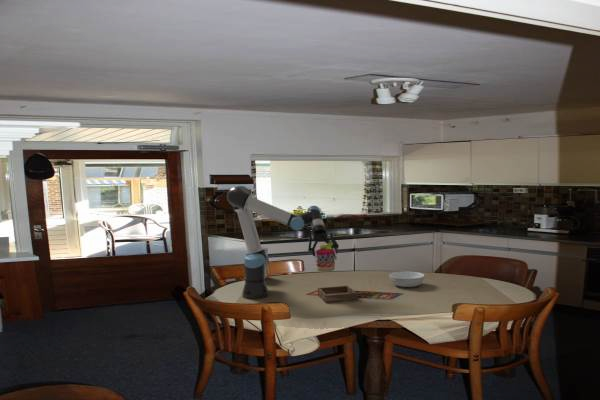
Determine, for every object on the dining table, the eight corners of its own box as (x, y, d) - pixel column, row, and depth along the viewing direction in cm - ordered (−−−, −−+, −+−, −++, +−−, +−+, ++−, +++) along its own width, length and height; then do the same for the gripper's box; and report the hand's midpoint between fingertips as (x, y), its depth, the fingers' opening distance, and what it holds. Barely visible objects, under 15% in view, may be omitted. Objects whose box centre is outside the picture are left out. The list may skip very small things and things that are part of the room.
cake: (325, 272, 253) (324, 245, 252) (312, 269, 261) (311, 243, 260) (339, 269, 260) (338, 242, 259) (326, 266, 268) (325, 241, 267)
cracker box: (261, 277, 319) (260, 246, 318) (269, 277, 317) (268, 247, 316) (252, 281, 306) (251, 250, 305) (260, 282, 304) (259, 250, 303)
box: (317, 294, 268) (317, 288, 268) (347, 292, 272) (347, 285, 271) (325, 303, 250) (325, 295, 250) (357, 300, 254) (357, 293, 254)
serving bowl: (409, 280, 297) (409, 269, 297) (432, 287, 278) (431, 275, 278) (382, 284, 288) (382, 273, 288) (404, 291, 269) (403, 280, 269)
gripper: (335, 230, 278) (344, 261, 263) (298, 233, 273) (305, 265, 259) (338, 222, 272) (347, 253, 258) (300, 225, 267) (307, 257, 253)
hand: (326, 259), depth 258 cm, fingers closed on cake, 10 cm apart
